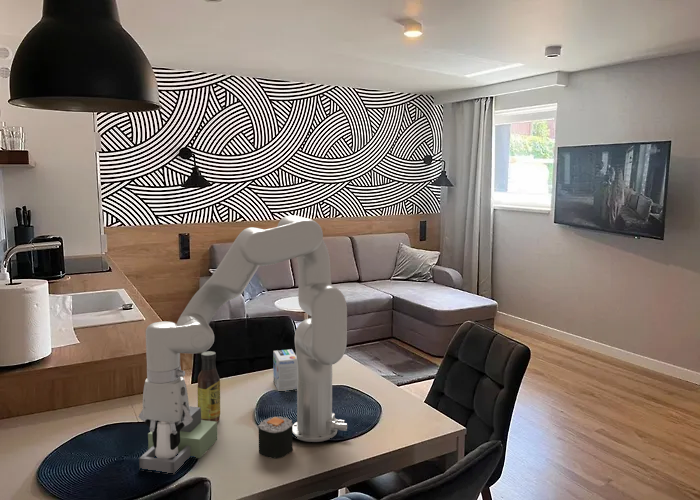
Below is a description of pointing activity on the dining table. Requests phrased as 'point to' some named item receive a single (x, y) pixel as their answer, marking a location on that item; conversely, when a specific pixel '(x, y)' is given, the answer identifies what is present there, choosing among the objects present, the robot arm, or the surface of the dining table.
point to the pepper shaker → (164, 441)
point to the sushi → (275, 437)
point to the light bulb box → (285, 370)
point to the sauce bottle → (209, 388)
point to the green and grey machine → (183, 444)
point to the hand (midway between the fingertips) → (166, 445)
